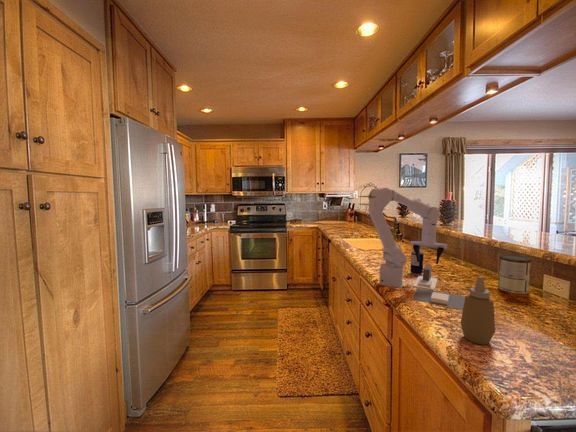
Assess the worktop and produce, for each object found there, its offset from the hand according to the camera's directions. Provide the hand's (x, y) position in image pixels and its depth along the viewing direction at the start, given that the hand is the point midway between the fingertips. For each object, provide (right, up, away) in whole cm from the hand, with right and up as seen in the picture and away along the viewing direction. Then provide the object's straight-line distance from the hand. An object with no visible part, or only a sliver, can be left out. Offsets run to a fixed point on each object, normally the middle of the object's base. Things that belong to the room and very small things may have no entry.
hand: (427, 262), depth 125 cm
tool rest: (-1, -10, -1) cm, 10 cm away
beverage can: (+2, -8, +15) cm, 17 cm away
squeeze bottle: (-10, -14, -47) cm, 50 cm away
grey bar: (-1, -8, 0) cm, 9 cm away
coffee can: (+33, -10, -7) cm, 35 cm away
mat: (-4, -11, -19) cm, 23 cm away
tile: (-4, -10, -18) cm, 21 cm away
